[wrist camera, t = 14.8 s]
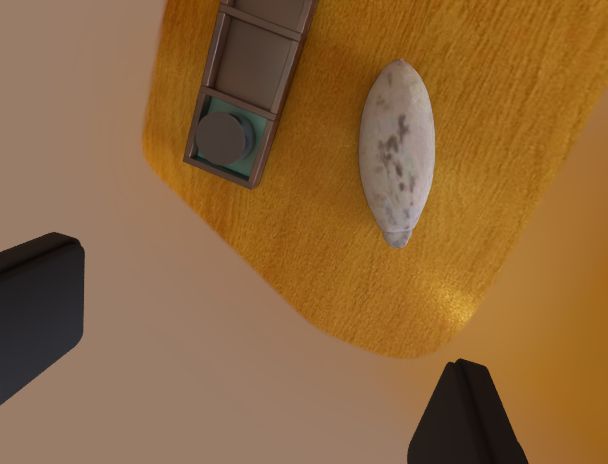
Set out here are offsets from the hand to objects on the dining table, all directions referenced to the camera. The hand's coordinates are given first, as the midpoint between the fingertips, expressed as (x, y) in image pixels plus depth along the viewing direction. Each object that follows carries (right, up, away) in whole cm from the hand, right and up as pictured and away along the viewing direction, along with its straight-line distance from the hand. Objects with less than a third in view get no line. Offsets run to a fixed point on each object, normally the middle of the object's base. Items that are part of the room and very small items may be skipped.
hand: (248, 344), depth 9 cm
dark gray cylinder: (-5, +11, +25) cm, 28 cm away
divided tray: (-3, +17, +23) cm, 29 cm away
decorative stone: (+9, +9, +23) cm, 27 cm away
